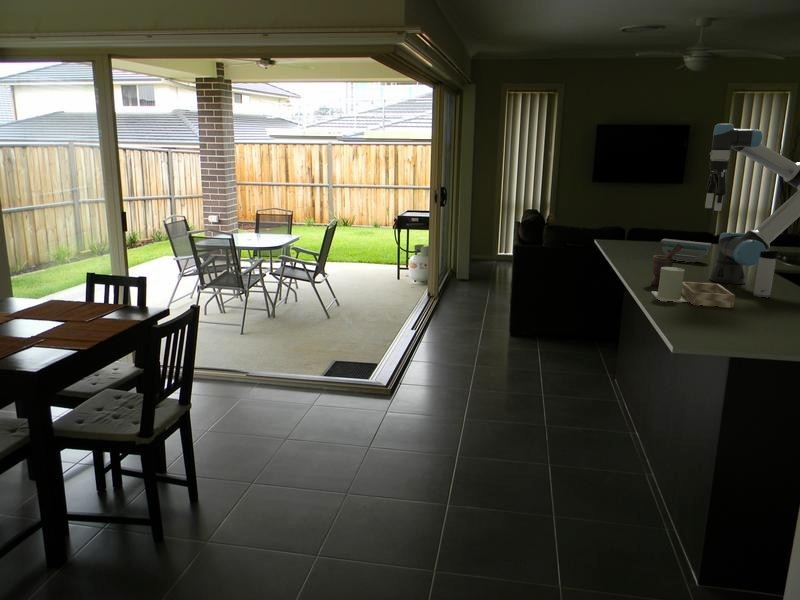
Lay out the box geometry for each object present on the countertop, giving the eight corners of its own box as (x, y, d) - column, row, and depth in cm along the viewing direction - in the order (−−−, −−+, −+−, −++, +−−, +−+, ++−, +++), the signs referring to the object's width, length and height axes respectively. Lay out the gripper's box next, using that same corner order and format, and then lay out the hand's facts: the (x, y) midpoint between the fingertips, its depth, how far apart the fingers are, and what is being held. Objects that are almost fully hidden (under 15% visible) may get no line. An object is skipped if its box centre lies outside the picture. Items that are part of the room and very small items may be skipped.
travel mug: (764, 298, 273) (772, 251, 268) (750, 295, 278) (757, 249, 274) (773, 297, 276) (781, 250, 271) (759, 294, 281) (766, 248, 277)
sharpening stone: (708, 262, 360) (711, 243, 357) (706, 264, 354) (709, 244, 351) (661, 257, 373) (664, 238, 371) (658, 259, 367) (661, 240, 364)
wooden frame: (716, 295, 276) (718, 284, 275) (733, 307, 254) (735, 295, 253) (678, 292, 278) (680, 281, 277) (691, 304, 257) (693, 292, 256)
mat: (678, 294, 275) (678, 293, 275) (687, 302, 260) (687, 301, 260) (651, 292, 277) (651, 291, 277) (658, 300, 262) (658, 299, 262)
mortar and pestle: (676, 285, 295) (682, 241, 291) (677, 288, 287) (683, 243, 283) (649, 282, 299) (654, 239, 294) (649, 286, 291) (655, 241, 286)
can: (683, 299, 263) (687, 270, 260) (659, 297, 265) (663, 268, 262) (678, 294, 272) (682, 266, 269) (655, 293, 274) (658, 265, 271)
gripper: (702, 159, 296) (696, 206, 301) (719, 160, 272) (712, 211, 277) (719, 160, 295) (713, 207, 300) (738, 161, 271) (730, 212, 276)
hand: (712, 209), depth 288 cm, fingers open, 13 cm apart
